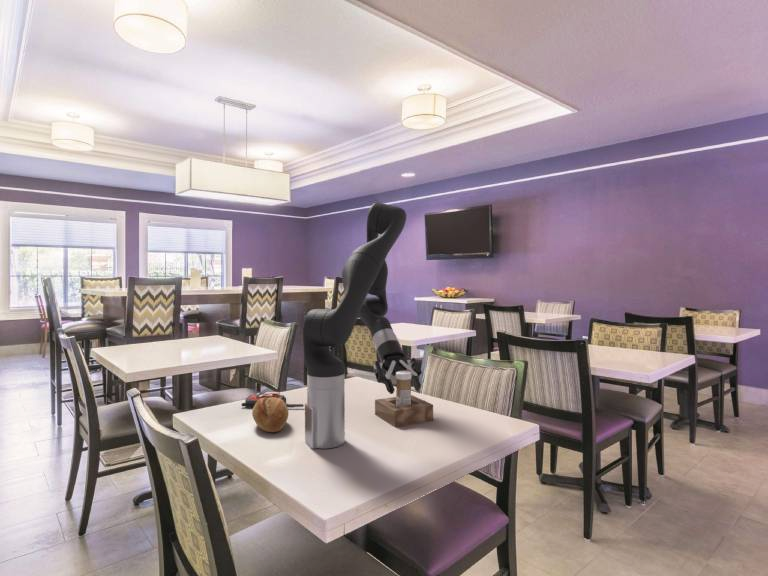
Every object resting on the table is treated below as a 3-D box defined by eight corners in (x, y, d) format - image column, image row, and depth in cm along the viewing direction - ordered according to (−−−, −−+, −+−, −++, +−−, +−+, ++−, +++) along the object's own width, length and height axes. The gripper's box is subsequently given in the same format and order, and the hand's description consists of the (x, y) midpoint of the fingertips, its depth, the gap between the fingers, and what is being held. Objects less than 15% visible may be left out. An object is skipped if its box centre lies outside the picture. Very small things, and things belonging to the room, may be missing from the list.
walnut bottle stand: (394, 426, 123) (394, 410, 123) (375, 414, 134) (374, 399, 134) (433, 420, 128) (433, 404, 128) (411, 409, 140) (411, 394, 139)
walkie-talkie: (238, 411, 139) (302, 411, 139) (238, 397, 139) (302, 396, 139) (247, 403, 148) (307, 403, 148) (247, 390, 148) (307, 390, 148)
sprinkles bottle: (395, 415, 133) (394, 370, 133) (410, 414, 134) (410, 370, 134) (396, 419, 129) (396, 373, 129) (412, 419, 129) (412, 373, 129)
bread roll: (254, 438, 114) (254, 407, 114) (250, 421, 128) (250, 393, 128) (292, 433, 118) (292, 403, 118) (284, 417, 132) (284, 390, 132)
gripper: (370, 340, 134) (388, 386, 124) (411, 337, 141) (431, 381, 130) (363, 355, 139) (379, 400, 129) (403, 352, 145) (421, 395, 135)
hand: (405, 390), depth 130 cm, fingers open, 8 cm apart
